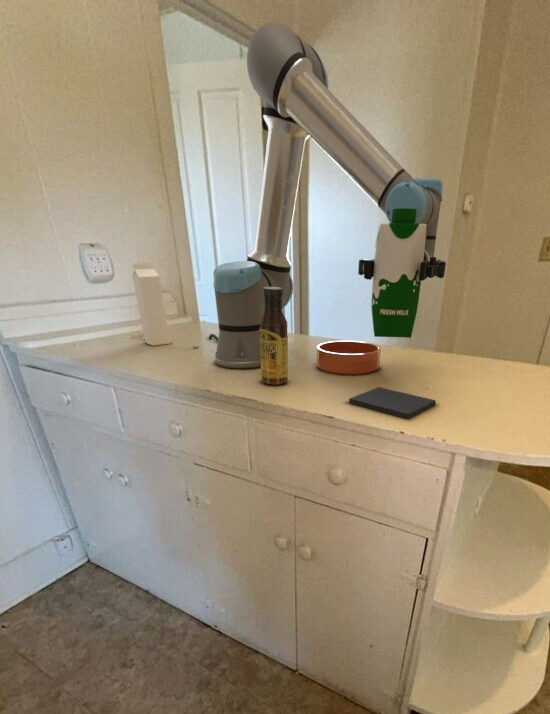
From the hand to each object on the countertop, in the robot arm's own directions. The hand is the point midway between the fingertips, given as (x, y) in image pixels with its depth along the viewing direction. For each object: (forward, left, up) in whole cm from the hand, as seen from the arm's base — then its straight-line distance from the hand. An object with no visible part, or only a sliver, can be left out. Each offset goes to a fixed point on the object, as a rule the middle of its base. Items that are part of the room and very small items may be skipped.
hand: (393, 270), depth 74 cm
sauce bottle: (-28, -3, -24) cm, 37 cm away
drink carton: (-2, +4, -11) cm, 12 cm away
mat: (+1, +2, -24) cm, 24 cm away
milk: (-87, +3, -24) cm, 90 cm away
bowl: (-24, +20, -24) cm, 39 cm away
